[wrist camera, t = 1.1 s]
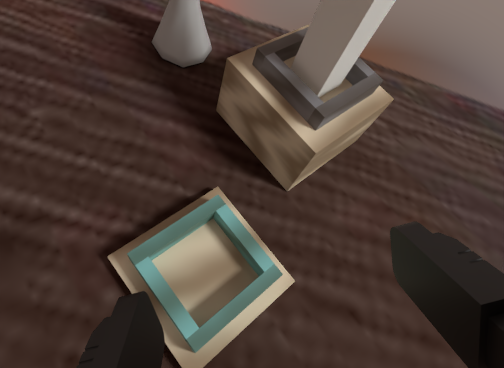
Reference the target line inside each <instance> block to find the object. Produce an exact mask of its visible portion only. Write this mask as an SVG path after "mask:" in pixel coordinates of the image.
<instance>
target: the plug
mask: <svg viewBox="0 0 504 368" xmlns="http://www.w3.org/2000/svg"><path fill="white" fill-rule="evenodd" d="M395 1H396V0H321V1H320V3H319V5H318V7H317V10H316V12H315V14H314V17H313V19H312V21H311V23H310V25H309V28H308V30H307V32H306V34H305V37H304V39H303V41H302V44H301V46H300V48H299V50H298V53H297V55H296V57H295V59H294V62H293V64H292V66H291V68H290V69H291V70H292V71H293V72H294V73H295V74H296V75H297V76H298V77H299V78H300V79H301V80H302V81H303V82H304V83H305V84H306V85H307V86H308V87H309V88H310V89H311V90H312V91H313V92H314V93H315V94H316V95H317V96H318V97H321V96H323V95H325V94H326V93H328V92H330V91H332V90H333V89H335V88H337V87H338V86H340V84H341V83H342V81H343V80H344V78H345V77H346V75H347V74H348V72H349V71H350V69H351V68H352V66H353V65H354V63H355V62H356V60H357V59H358V57H359V56H360V54H361V52H362V51H363V49H364V48H365V46H366V45H367V43H368V42H369V40H370V39H371V37H372V36H373V34H374V33H375V31H376V30H377V28H378V26H379V25H380V23H381V22H382V20H383V19H384V17H385V16H386V14H387V13H388V11H389V10H390V8H391V7H392V5H393V4H394V2H395Z"/></svg>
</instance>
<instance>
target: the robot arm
mask: <svg viewBox="0 0 504 368" xmlns="http://www.w3.org/2000/svg"><path fill="white" fill-rule="evenodd" d="M390 237H391V250H392V263H393V271H394V274H395V277H396V279H397V281H398V283H399V284H400V286H401V287H402V288H403V290H404V291H405V292H406V293H407V295H408V296H409V297H410V298H411V299H412V301H413V302H414V303H415V304H416V305H417V307H418V308H419V309H420V310H421V311H422V313H423V314H424V315H425V316H426V317H427V319H428V320H429V321H430V322H431V323H432V325H433V326H434V327H435V328H436V329H437V331H438V332H439V333H440V334H441V335H442V337H443V338H444V339H445V340H446V341H447V343H448V344H449V345H450V346H451V347H452V349H453V350H454V351H455V352H456V353H457V355H458V356H459V357H460V358H461V359H462V361H463V362H464V363H465V364H466V365H467V367H468V368H504V274H503V273H502V272H501V271H499V270H498V269H496V268H495V267H494V266H492V265H491V264H490V263H488V262H487V261H485V260H484V261H483V260H482V258H481V257H480V256H479V255H477V254H476V253H474V252H471V251H470V249H469V248H468V247H466V246H465V245H464V244H462V243H461V242H459V241H458V240H457V239H454V238H452V237H449V236H446V235H444V234H441V233H439V232H438V233H434V234H433V233H431V232H430V231H429V230H427V229H426V228H425V227H424V226H422V225H421V224H420V223H418V222H411V223H408V224H404V225H400V226H396V227H392V228H391V231H390ZM164 346H165V339H164V332H163V328H162V325H161V323H160V321H159V318H158V316H157V314H156V312H155V309H154V307H153V305H152V302H151V300H150V298H149V296H148V294H147V293H146V292H145V291H141V292H138V293H134V294H130V295H126V296H122V297H120V298H119V299H118V301H117V303H116V305H115V308H114V310H113V313H112V315H111V317H107V318H104V320H103V321H102V322H101V323H100V324H99V326H98V327H97V328H96V329H95V330H94V331H93V333H92V334H91V337H90V339H89V341H88V343H87V345H86V348H85V352H83V354H82V356H81V358H80V361H79V365H78V366H77V367H76V368H161V364H162V358H163V352H164Z"/></svg>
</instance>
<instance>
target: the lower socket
mask: <svg viewBox="0 0 504 368" xmlns="http://www.w3.org/2000/svg"><path fill="white" fill-rule="evenodd" d="M107 257H108V259H109V260H110V262H111V263H112V265H113V266H114V268H115V269H116V271H117V272H118V274H119V275H120V277H121V278H122V280H123V281H124V283H125V284H126V286H127V287H128V288H129V290H130V291H131V293H132V294H134V293H138V292H141V291H145V292H146V293H147V294H148V296H149V298H150V300H151V302H152V305H153V307H154V309H155V312H156V314H157V316H158V318H159V321H160V323H161V325H162V328H163V332H164V339H165V343H166V345H167V346H168V348H169V349H170V351H171V352H172V354H173V355H174V357H175V358H176V360H177V361H178V363H179V364H180V366H181V367H182V368H203V367H204V366H205V365H206V364H207V363H208V362H209V361H210V360H211V359H212V358H213V357H215V356H216V355H217V354H218V353H219V352H220V351H221V350H222V349H223V348H224V347H225V346H226V345H227V344H228V343H230V342H231V341H232V340H233V339H234V338H235V337H236V336H237V335H238V334H239V333H240V332H241V331H242V330H243V329H244V328H246V327H247V326H248V325H249V324H250V323H251V322H252V321H253V320H254V319H255V318H256V317H257V316H258V315H259V314H261V313H262V312H263V311H264V310H265V309H266V308H267V307H268V306H269V305H270V304H271V303H272V302H273V301H274V300H276V299H277V298H278V297H279V296H280V295H281V294H282V293H283V292H284V291H285V290H286V289H287V288H288V287H289V286H291V285H292V284H293V283H294V282H295V281H294V279H293V278H292V277H291V276H290V274H289V273H288V272H287V271H286V270H285V268H284V267H283V266H282V265H281V263H280V262H279V261H278V260H277V259H276V257H275V256H274V255H273V254H272V252H271V251H270V250H269V249H268V248H267V246H266V245H265V244H264V243H263V241H262V240H261V239H260V238H259V237H258V235H257V234H256V233H255V232H254V230H253V229H252V228H251V227H250V225H249V224H248V223H247V222H246V221H245V219H244V218H243V217H242V216H241V214H240V213H239V212H238V211H237V210H236V208H235V207H234V206H233V205H232V203H231V202H230V201H229V200H228V199H227V197H226V196H225V195H224V194H223V192H222V191H221V190H220V189H219V187H216V188H215V189H213V190H211V191H210V192H208V193H207V194H205V195H204V196H202V197H200V198H199V199H197V200H196V201H194V202H193V203H191V204H189V205H188V206H186V207H185V208H183V209H181V210H180V211H178V212H177V213H175V214H174V215H172V216H170V217H169V218H167V219H166V220H164V221H163V222H161V223H159V224H158V225H156V226H155V227H153V228H151V229H150V230H148V231H147V232H145V233H144V234H142V235H140V236H139V237H137V238H136V239H134V240H133V241H131V242H129V243H128V244H126V245H125V246H123V247H122V248H120V249H118V250H117V251H115V252H114V253H112V254H110V255H109V256H107Z"/></svg>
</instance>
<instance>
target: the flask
mask: <svg viewBox="0 0 504 368" xmlns="http://www.w3.org/2000/svg"><path fill="white" fill-rule="evenodd" d="M152 44H153V45H154V47H155V48H156V50H157V51H158V53H159V54H160V56H161V57H162V58H163V59H165V60H168V61H170V62H172V63H174V64H176V65H179V66H181V67H187V66H191V65H194V64H198V63H202V62H204V60H205V59H206V57H207V56H208V54H209V53H210V51H211V50H212V47H211V44H210V40H209V37H208V34H207V30H206V27H205V23H204V19H203V16H202V12H201V8H200V1H199V0H169V3H168V6H167V8H166V11H165V13H164V15H163V18H162V20H161V23H160V25H159V27H158V29H157V31H156V33H155V36H154V38H153V40H152Z"/></svg>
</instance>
